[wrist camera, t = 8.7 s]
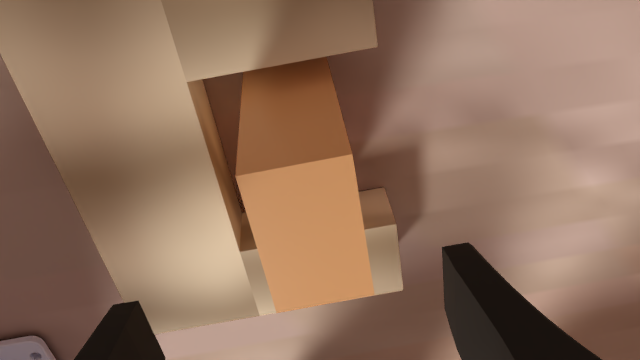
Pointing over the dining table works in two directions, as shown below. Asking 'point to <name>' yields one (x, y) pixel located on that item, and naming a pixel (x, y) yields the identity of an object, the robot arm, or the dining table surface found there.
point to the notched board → (172, 137)
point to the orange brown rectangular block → (301, 186)
